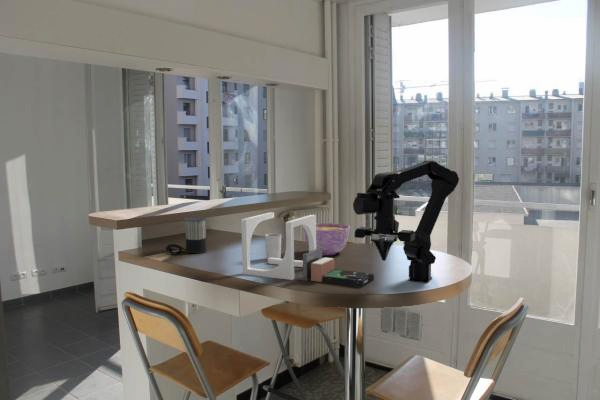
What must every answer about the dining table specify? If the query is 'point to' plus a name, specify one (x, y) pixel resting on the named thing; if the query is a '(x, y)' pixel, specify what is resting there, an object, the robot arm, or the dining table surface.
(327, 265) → the book
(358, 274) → the disk drive
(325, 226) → the bowl of food
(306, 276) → the metal plate
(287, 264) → the white arched frame
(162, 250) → the dining table surface
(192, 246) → the milk frother
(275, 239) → the drinking glass
